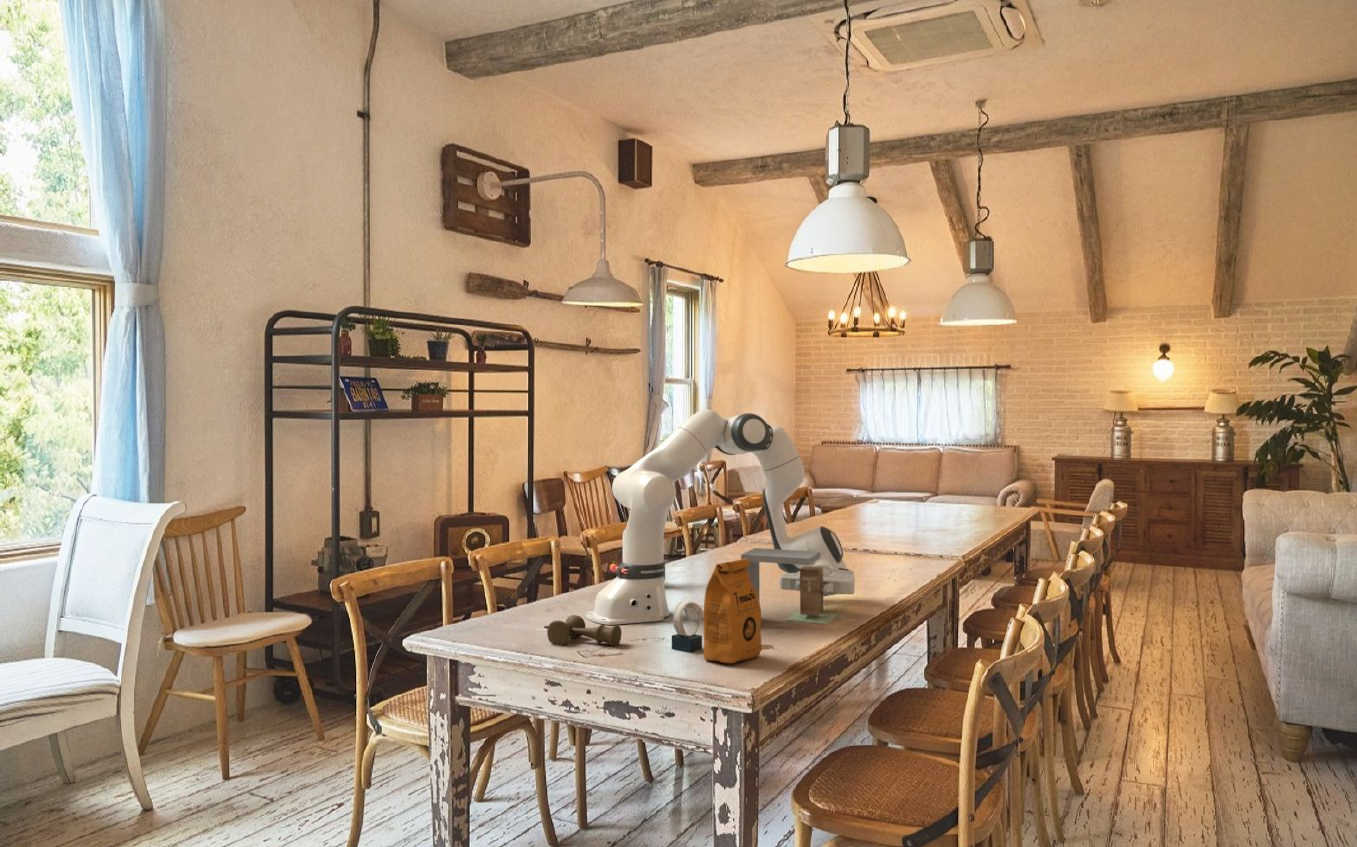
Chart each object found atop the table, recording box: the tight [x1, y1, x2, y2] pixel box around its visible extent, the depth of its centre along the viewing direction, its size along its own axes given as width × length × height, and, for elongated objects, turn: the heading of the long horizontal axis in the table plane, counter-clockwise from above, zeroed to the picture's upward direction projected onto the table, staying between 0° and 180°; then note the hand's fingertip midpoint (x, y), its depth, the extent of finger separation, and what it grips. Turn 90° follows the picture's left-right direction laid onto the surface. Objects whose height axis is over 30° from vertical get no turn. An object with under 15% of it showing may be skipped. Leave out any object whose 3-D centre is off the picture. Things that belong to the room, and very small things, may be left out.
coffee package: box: [703, 558, 762, 664], centre depth 210 cm, size 10×12×22 cm
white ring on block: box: [671, 600, 704, 654], centre depth 219 cm, size 6×8×11 cm
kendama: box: [543, 614, 622, 648], centre depth 226 cm, size 6×10×20 cm
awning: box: [740, 547, 820, 599], centre depth 242 cm, size 12×18×19 cm
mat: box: [785, 610, 838, 625], centre depth 250 cm, size 11×11×1 cm
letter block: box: [799, 565, 824, 616], centre depth 250 cm, size 5×5×12 cm
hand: (810, 588), depth 249 cm, fingers closed on letter block, 5 cm apart
